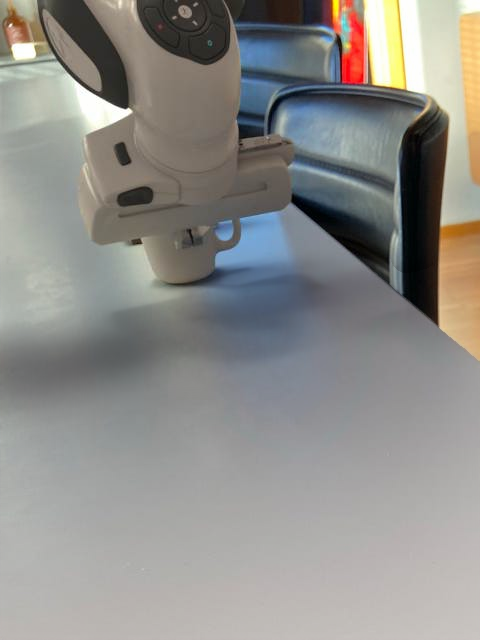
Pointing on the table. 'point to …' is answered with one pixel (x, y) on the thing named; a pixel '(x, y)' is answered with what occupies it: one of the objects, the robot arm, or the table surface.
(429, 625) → the table surface
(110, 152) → the robot arm
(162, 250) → the cup
